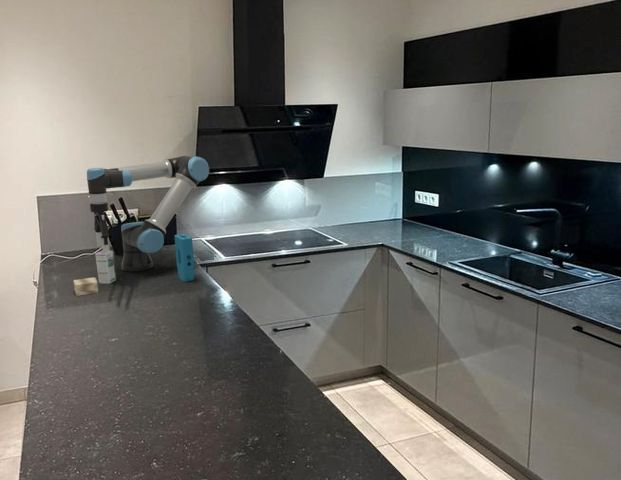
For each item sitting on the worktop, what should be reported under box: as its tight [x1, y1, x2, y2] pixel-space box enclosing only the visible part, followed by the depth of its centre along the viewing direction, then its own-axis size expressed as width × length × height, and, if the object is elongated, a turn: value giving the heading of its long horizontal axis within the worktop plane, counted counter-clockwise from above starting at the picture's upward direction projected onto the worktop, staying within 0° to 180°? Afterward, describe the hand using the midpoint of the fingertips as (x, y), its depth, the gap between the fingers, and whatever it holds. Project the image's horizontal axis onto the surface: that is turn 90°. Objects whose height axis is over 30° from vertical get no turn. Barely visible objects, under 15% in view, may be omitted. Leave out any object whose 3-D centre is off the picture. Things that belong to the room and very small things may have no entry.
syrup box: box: [94, 249, 117, 285], centre depth 266 cm, size 6×6×14 cm
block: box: [174, 233, 195, 283], centre depth 266 cm, size 12×5×20 cm, turn 30°
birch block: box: [72, 276, 99, 297], centre depth 253 cm, size 9×9×5 cm
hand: (103, 248), depth 263 cm, fingers open, 13 cm apart
